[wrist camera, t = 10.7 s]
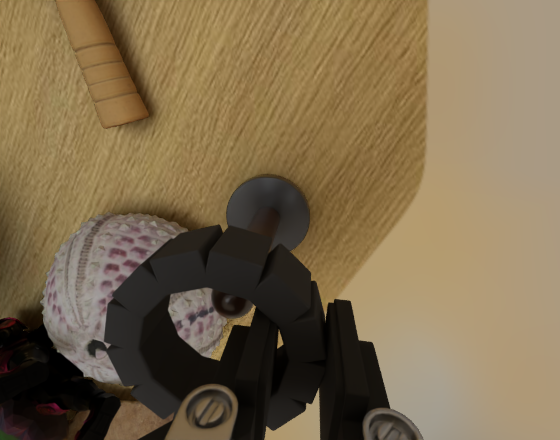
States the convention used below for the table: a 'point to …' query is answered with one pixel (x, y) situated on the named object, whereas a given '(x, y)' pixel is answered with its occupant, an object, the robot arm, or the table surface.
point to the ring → (229, 279)
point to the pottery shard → (124, 422)
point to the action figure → (50, 379)
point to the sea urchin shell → (105, 280)
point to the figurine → (30, 422)
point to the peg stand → (264, 224)
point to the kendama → (101, 64)
